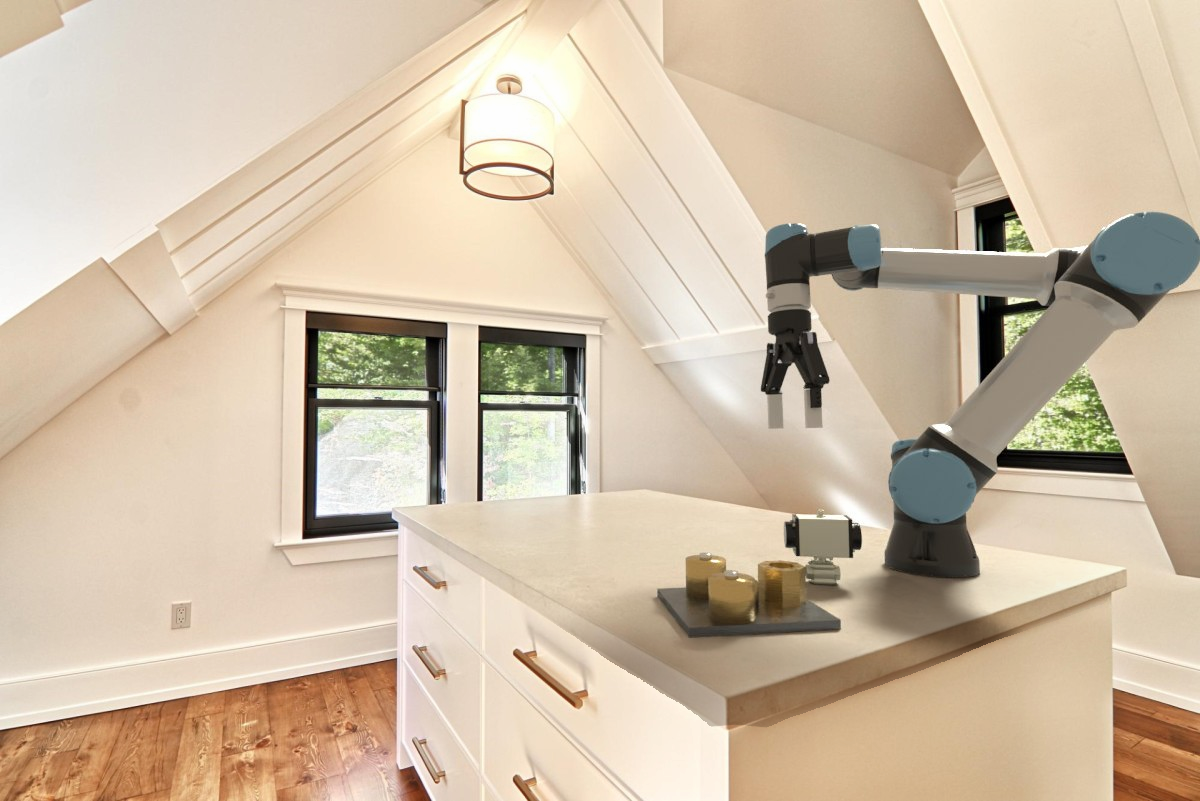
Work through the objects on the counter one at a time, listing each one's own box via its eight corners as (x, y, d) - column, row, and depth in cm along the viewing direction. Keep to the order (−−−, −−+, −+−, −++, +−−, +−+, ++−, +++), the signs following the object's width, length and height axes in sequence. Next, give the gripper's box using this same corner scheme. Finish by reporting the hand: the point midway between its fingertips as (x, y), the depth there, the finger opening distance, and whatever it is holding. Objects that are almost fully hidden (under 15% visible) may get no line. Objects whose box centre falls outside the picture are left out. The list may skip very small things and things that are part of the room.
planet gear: (792, 593, 88) (792, 559, 88) (812, 606, 82) (811, 569, 83) (753, 595, 88) (753, 561, 88) (770, 608, 82) (769, 571, 82)
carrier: (781, 590, 94) (780, 546, 95) (840, 629, 76) (839, 574, 77) (657, 596, 92) (656, 550, 92) (689, 637, 74) (688, 580, 74)
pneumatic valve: (863, 588, 95) (861, 512, 96) (787, 584, 98) (785, 511, 98) (856, 579, 101) (854, 508, 101) (784, 576, 103) (782, 506, 104)
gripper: (741, 323, 120) (745, 429, 119) (805, 295, 96) (811, 428, 94) (775, 324, 121) (779, 428, 120) (848, 296, 97) (854, 426, 96)
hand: (793, 428), depth 107 cm, fingers open, 13 cm apart
